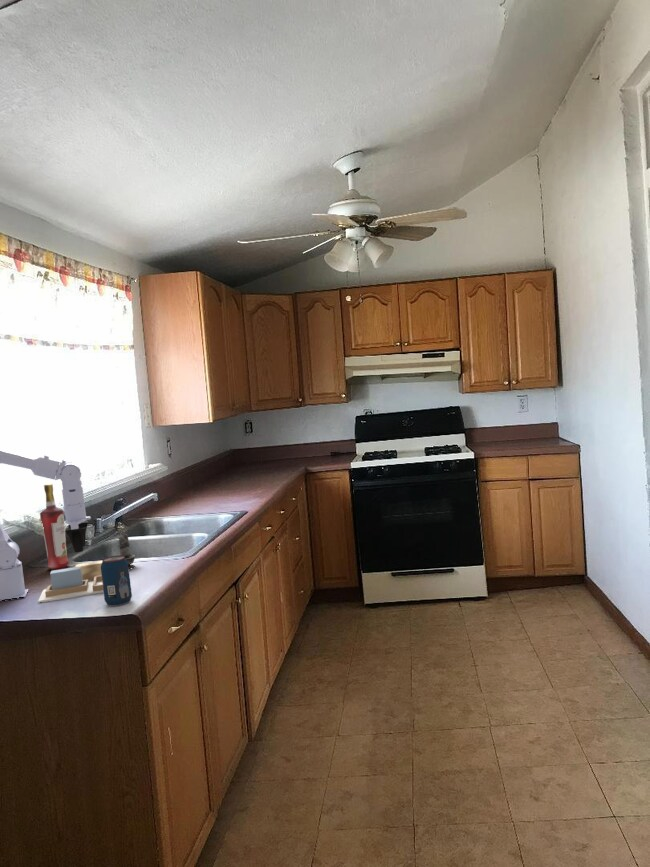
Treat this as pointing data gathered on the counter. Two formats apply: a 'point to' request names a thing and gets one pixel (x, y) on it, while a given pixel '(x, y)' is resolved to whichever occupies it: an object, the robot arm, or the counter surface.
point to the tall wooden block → (90, 570)
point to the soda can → (116, 580)
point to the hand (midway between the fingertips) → (80, 549)
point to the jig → (73, 590)
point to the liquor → (54, 532)
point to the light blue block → (66, 578)
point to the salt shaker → (126, 549)
